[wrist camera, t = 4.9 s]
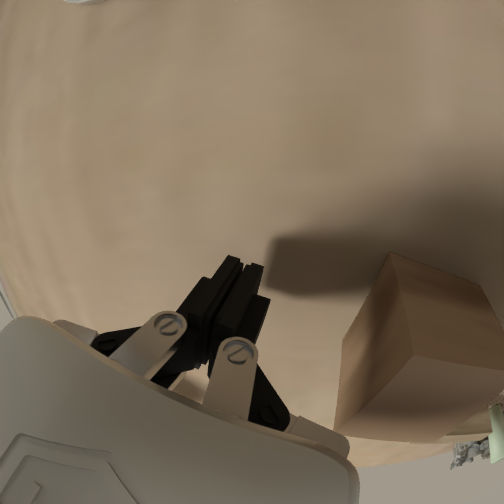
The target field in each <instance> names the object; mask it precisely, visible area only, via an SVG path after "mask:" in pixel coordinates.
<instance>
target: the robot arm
mask: <svg viewBox="0 0 504 504" xmlns="http://www.w3.org/2000/svg"><path fill="white" fill-rule="evenodd" d="M63 1H66V2H69V3H74V4H82V5H87V4H96V3H99V2H102V1H105V0H63ZM243 265H244V264H243V263H241V262H240V259H239V258H236V257H233V256H230V255H228V256H227V257H226V259H225V260H224V261H223V263H222V264H221V266H220V267H219V268H218V270H217V271H216V273H215V274H214V275H213V277H212V278H211V279H209V278H207V277H202V278H201V279H200V280H199V282H198V283H197V284H196V286H195V287H194V288H193V290H192V291H191V292H190V294H189V295H188V296H187V298H186V299H185V300H184V302H183V303H182V304H181V306H180V307H179V308H178V310H177V311H176V312H174V311H162V312H159V313H157V314H156V315H154V316H153V317H152V318H151V319H150V320H149V321H147V322H146V323H145V324H144V325H143V326H141V327H135V328H130V329H124V330H118V331H112V332H106V333H103V334H98V332H97V331H95V330H92V329H89V328H86V327H83V326H80V325H77V324H74V323H71V322H69V321H66V320H57V321H55V322H53V323H52V322H50V321H47V320H45V319H41V318H37V317H33V316H21V317H18V318H16V319H14V320H13V321H11V322H10V323H9V324H7V325H6V326H5V327H4V328H3V329H2V330H0V504H358V503H359V493H360V482H359V476H358V473H357V470H356V468H355V467H354V466H353V464H352V463H351V462H350V461H348V460H347V459H346V458H347V456H348V454H349V449H350V445H349V442H348V440H347V439H346V437H344V436H343V435H341V434H339V433H337V432H334V431H332V430H330V429H327V428H325V427H323V426H321V425H318V424H316V423H314V422H312V421H310V420H308V419H306V418H303V417H301V416H298V417H296V416H294V415H292V414H290V413H289V411H288V409H287V407H286V406H285V404H284V403H283V402H282V400H281V399H280V397H279V396H278V394H277V393H276V391H275V390H274V388H273V387H272V385H271V384H270V382H269V381H268V379H267V378H266V376H265V375H264V373H263V372H262V370H261V369H260V367H259V365H258V364H257V361H258V350H257V348H256V346H255V343H256V341H257V338H258V336H259V333H260V330H261V328H262V325H263V322H264V319H265V316H266V313H267V310H268V307H269V304H270V300H271V299H269V298H266V297H263V296H259V295H257V293H258V289H259V285H260V281H261V277H262V273H263V269H264V266H261V265H258V264H255V263H252V264H251V265H248V264H247V265H246V266H245V268H244V270H243ZM242 270H243V271H242ZM208 360H209V365H208V374H207V375H208V377H209V379H210V380H209V384H208V387H207V391H206V394H205V398H204V401H203V405H202V404H200V403H197V402H195V401H193V400H190V399H188V398H186V397H183V396H181V395H179V394H177V393H174V392H172V390H173V389H174V388H175V387H176V386H177V384H178V383H179V382H180V381H181V380H182V378H183V377H184V376H185V374H186V371H189V370H193V369H194V368H196V369H199V368H200V366H201V364H204V365H206V363H207V362H208Z"/></svg>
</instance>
